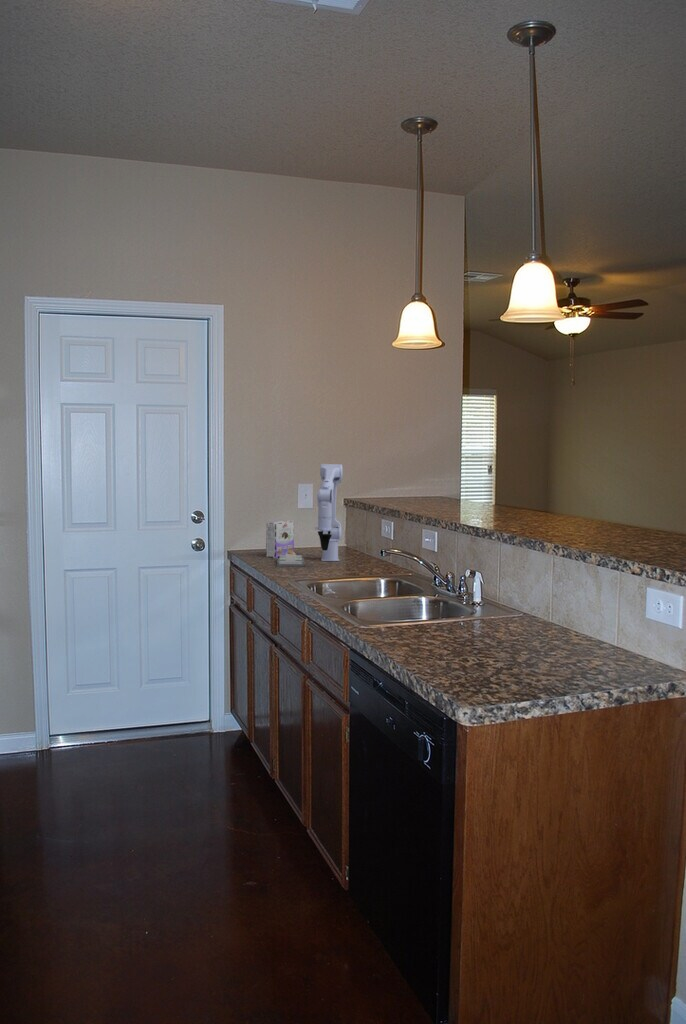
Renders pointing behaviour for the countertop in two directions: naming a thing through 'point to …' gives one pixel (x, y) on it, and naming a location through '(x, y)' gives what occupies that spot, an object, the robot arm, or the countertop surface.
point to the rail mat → (283, 562)
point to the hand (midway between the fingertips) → (324, 549)
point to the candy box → (279, 538)
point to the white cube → (290, 556)
